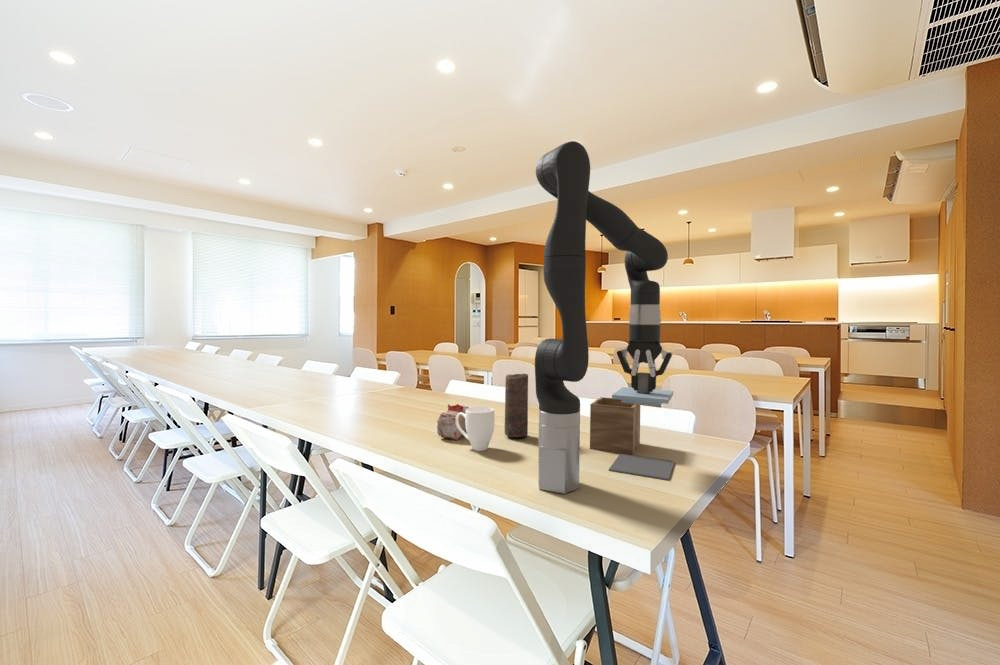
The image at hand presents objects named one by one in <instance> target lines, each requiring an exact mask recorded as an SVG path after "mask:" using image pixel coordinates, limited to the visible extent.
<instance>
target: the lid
mask: <svg viewBox="0 0 1000 665" xmlns="http://www.w3.org/2000/svg"><path fill="white" fill-rule="evenodd" d="M649 377H650V372H640V371H639V372H638V373H637V391H635V390H634V388H632V387H627V386H622V387H620V388H619V389H618V390H617V391H615V392H614V393H612V395H611V398H612V399H619V400H621V403H631V404H640V405H641V406H642V405H643V406H644V405H645V406H653V407H661V405H662V404H664V405H665V404H666V405H667V404H669V403H670V401H671V399H672V397H673V396H674V391H673V390H664V389H655V390H653V392H649Z"/></svg>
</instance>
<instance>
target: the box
mask: <svg viewBox="0 0 1000 665" xmlns="http://www.w3.org/2000/svg"><path fill="white" fill-rule="evenodd" d="M589 406H590V409H589V414H590V416H589V449H590V450H595V451H596V450H597V451H604V452H611V453H618V454H620V453H622V454H629V455H634V453H635V452H636V450H637V448H638V447H639V446H640V444H641V404H631V403H621V400H619V399H612V397H605V396H603V397H601V396H600V397H599V398H597V399H596V400H594V401H593V402H591V403H590V405H589Z"/></svg>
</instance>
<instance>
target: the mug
mask: <svg viewBox="0 0 1000 665" xmlns="http://www.w3.org/2000/svg"><path fill="white" fill-rule="evenodd" d="M459 415H462V416H463V417H464V418H465V425H466V431H467V432H466V433H465V432H464V431H463V430H462V428H461V427H460V425H459V421H458V418H459ZM455 423H456V426H457V428H458V430H459V431H460V432H461V433H462V434H463V435H462V436H463V437H465V439H467V441H469V444H470V445H471V449H472V450H473V451H475V452H483V451H486V450H488V448H489V445H490V443H491V440H492V437H493V434H494V431H495V408H493V407H489V406H472V407H469V408H468V409H466V414H464V413H462V412H460V413H458V414H457V416H456V418H455Z"/></svg>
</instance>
